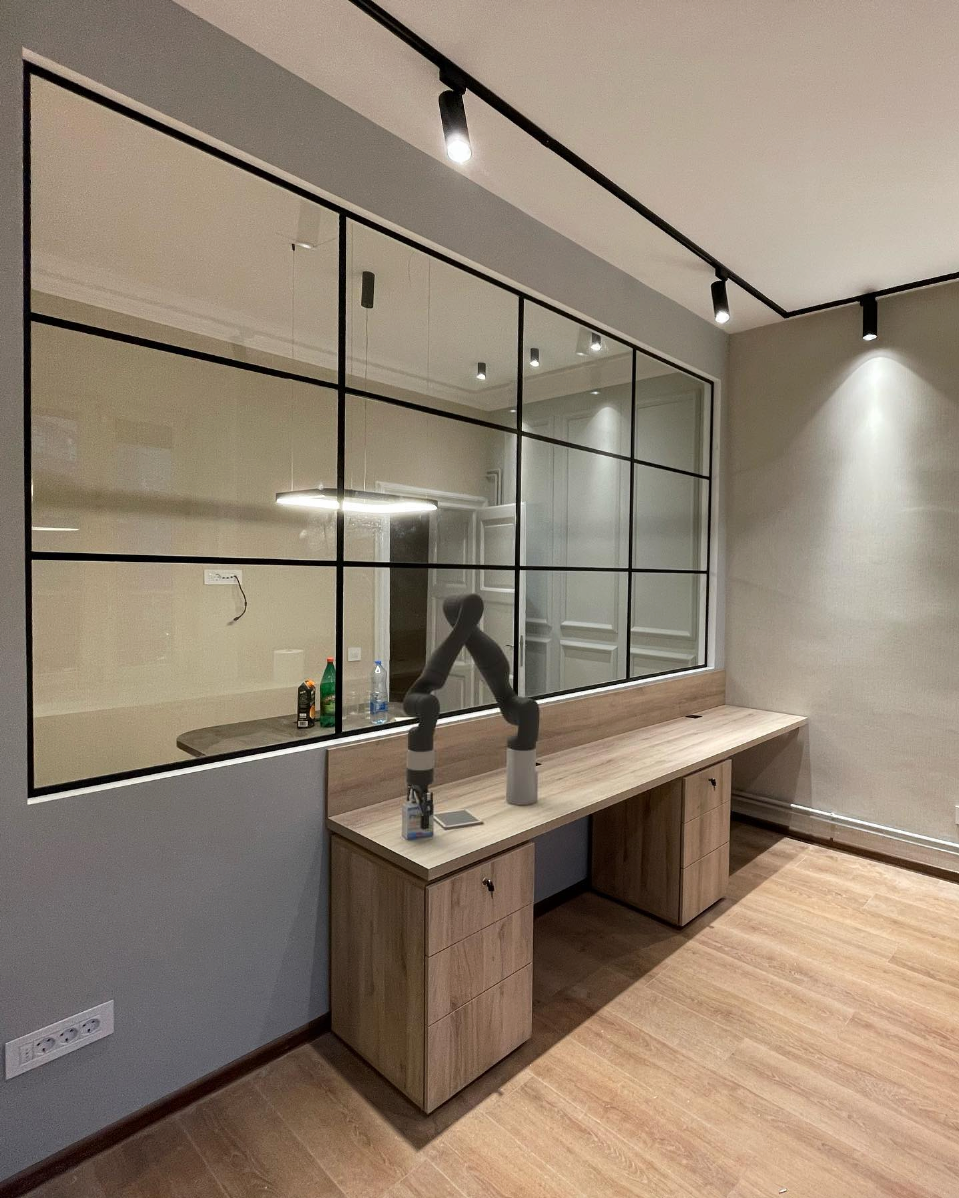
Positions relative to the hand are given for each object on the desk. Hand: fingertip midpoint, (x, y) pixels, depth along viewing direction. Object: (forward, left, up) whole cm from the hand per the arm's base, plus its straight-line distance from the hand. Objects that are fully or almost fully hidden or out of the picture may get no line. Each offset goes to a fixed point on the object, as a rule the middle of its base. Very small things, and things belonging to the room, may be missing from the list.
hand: (419, 823), depth 188 cm
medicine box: (0, 0, -3) cm, 3 cm away
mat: (-14, -7, -3) cm, 16 cm away
